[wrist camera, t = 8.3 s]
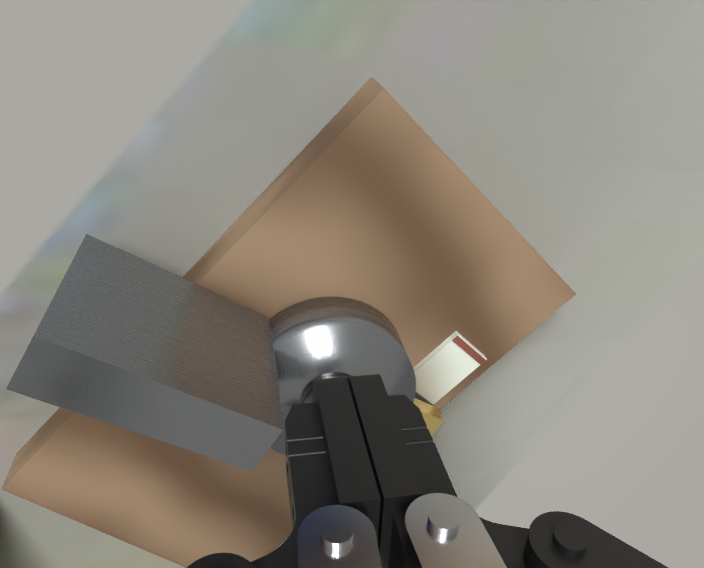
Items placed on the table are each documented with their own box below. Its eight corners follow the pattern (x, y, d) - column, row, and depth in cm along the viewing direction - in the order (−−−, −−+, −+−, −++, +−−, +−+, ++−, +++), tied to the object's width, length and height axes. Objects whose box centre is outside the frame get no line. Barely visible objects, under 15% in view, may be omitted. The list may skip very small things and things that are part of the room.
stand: (230, 551, 32) (230, 592, 30) (16, 453, 26) (-2, 496, 24) (553, 271, 26) (580, 298, 24) (371, 77, 21) (386, 90, 19)
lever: (387, 461, 27) (424, 582, 22) (38, 327, 21) (-27, 451, 16) (475, 358, 25) (538, 464, 20) (116, 176, 19) (72, 261, 14)
